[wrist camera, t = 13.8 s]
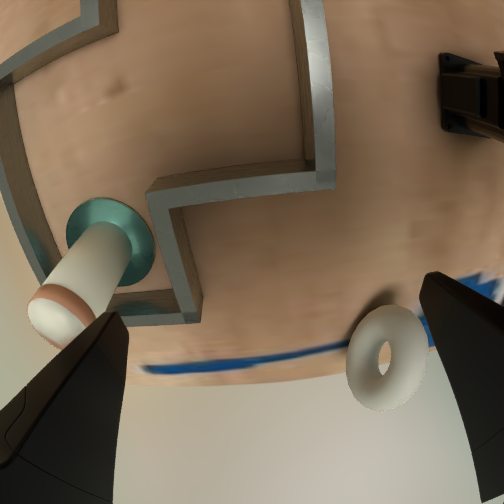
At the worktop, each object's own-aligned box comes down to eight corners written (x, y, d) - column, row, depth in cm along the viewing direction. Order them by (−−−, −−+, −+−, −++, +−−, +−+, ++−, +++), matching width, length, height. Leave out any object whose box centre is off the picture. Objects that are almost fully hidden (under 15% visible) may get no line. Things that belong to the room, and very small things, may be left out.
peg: (123, 216, 19) (67, 295, 12) (140, 266, 22) (104, 355, 14) (76, 225, 19) (15, 298, 12) (95, 271, 22) (51, 351, 14)
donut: (355, 352, 30) (381, 428, 21) (330, 350, 29) (353, 431, 20) (405, 286, 25) (454, 364, 16) (380, 279, 24) (429, 365, 16)
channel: (285, -98, 7) (292, -117, 4) (320, 283, 24) (329, 307, 21) (4, -8, 7) (-17, -11, 5) (76, 306, 24) (65, 327, 22)
